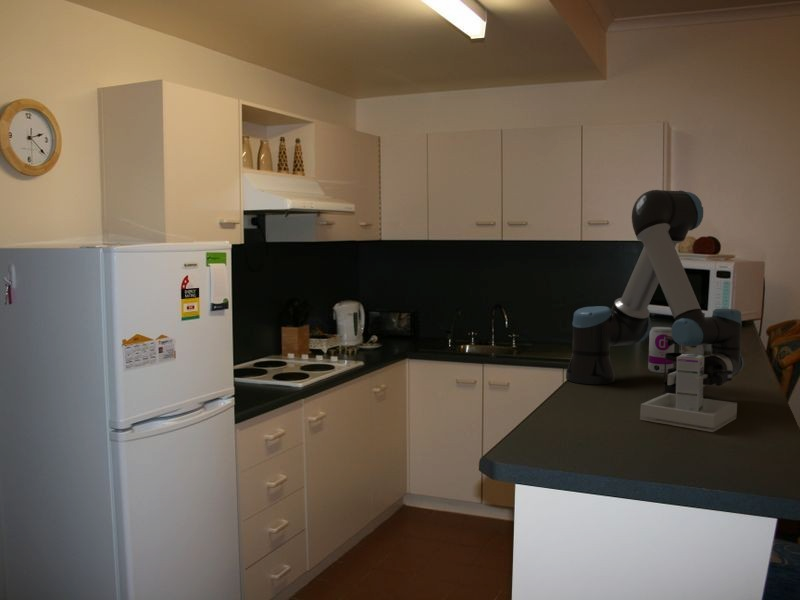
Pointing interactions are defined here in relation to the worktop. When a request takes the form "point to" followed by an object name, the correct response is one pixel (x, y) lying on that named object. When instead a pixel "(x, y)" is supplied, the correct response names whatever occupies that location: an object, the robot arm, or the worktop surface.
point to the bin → (689, 413)
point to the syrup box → (689, 382)
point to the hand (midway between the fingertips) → (682, 381)
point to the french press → (673, 357)
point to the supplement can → (659, 349)
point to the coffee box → (693, 349)
